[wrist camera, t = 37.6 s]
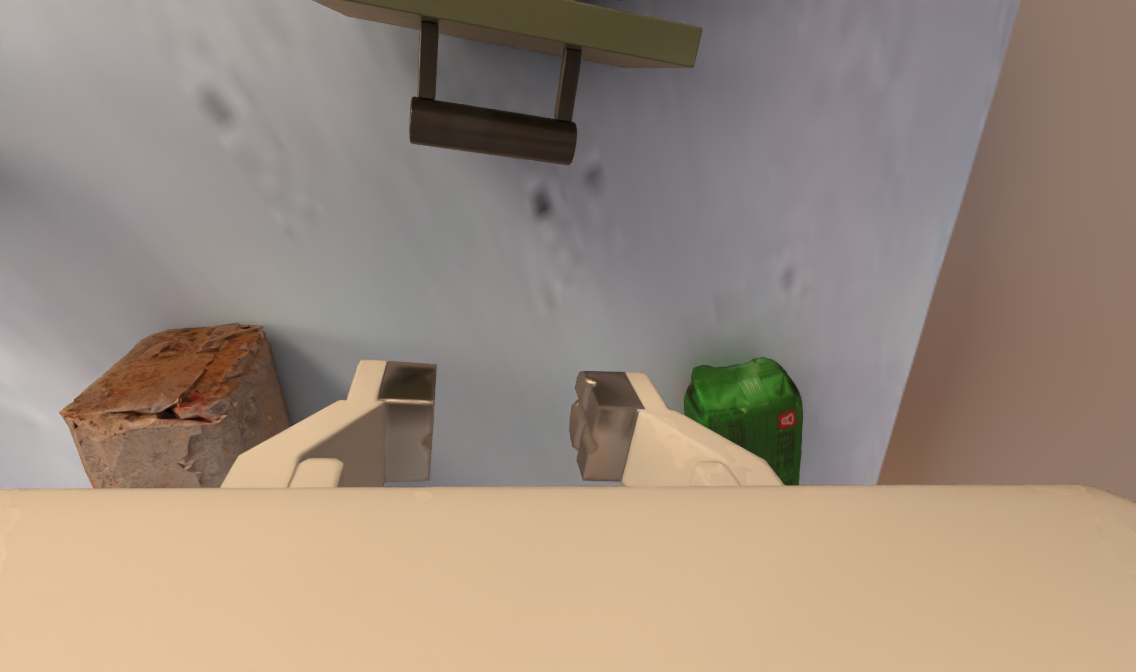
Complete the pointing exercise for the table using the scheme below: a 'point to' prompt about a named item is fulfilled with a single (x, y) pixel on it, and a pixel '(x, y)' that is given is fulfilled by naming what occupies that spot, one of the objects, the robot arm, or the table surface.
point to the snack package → (751, 411)
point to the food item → (179, 409)
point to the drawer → (532, 22)
